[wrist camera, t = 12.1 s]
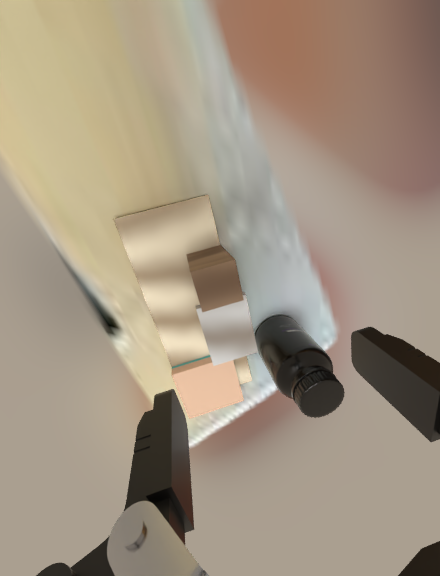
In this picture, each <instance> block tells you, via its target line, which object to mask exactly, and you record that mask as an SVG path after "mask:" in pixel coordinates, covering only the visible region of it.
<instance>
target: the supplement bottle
mask: <svg viewBox="0 0 440 576" xmlns="http://www.w3.org/2000/svg"><path fill="white" fill-rule="evenodd" d="M255 340H256V345H257V350H258V352H259V354H260V356H261V358H262V360H263V362H264V364H265V366H266V367H267V369H268V371H269V373H270V375H271V377H272V379H273V381H274V383H275V385H276V386H277V388H278V390H279V391H280V392H281V393H282V394H283V395H285V396H286V397H289V398H291V399H294V401H295V403H296V404H297V405H298V407H299V408H300V410H301V411H302V412H303V413H304V414H305V415H307V416H310V417H315V418H316V417H321V416H325V415H328V414H329V413H331V412H333V411H334V410H335V409H336V408H337V407H339V405H340V404H341V402H342V400H343V397H344V388H343V386H342V384H341V383H340V382H339V381H338V380H337V379H336V377H335V375H334V374H333V365H332V361H331V359H330V357H329V356H328V355H327V353H326V352H325V351H324V350H323V349H322V348H321V347H320V346H319V345H318V344H317V343H316V342H315V341H314V340H313V339H312V338H311V337H310V336H309V335H308V334H307V332H306V331H305V330H304V329H303V328H302V327H301V326H300V325H299V324H298V323H297V322H296V321H295V320H293V319H292V318H290V317H287V316H275V317H272V318H269V319H268V320H266V321H265V322H263V323H262V324H261V325H260V327H259V328H258V330H257V332H256V335H255Z"/></svg>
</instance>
